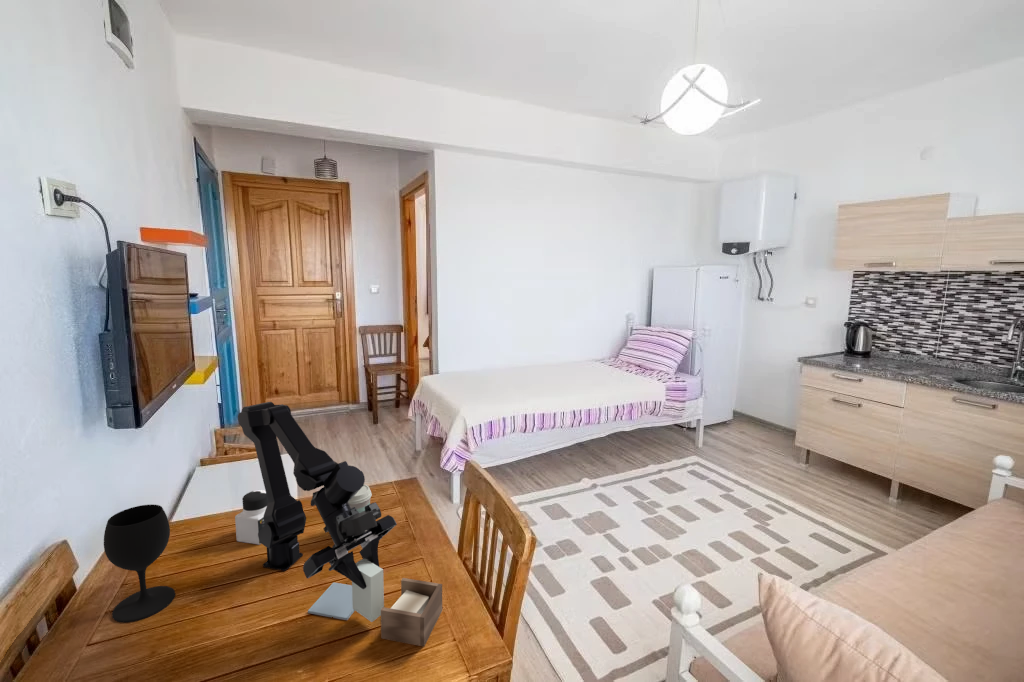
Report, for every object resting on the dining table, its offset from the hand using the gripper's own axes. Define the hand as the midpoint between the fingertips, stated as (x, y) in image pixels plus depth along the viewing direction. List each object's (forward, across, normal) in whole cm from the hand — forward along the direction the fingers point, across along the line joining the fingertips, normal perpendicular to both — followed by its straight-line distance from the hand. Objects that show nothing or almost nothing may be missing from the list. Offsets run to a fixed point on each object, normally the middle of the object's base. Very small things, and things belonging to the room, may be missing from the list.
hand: (372, 583), depth 88 cm
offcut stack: (+10, +5, +2) cm, 12 cm away
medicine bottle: (-29, +2, +42) cm, 51 cm away
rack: (+10, +5, +2) cm, 12 cm away
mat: (-1, 0, +14) cm, 14 cm away
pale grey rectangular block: (+4, 0, +6) cm, 7 cm away
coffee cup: (-15, +19, +29) cm, 38 cm away
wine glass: (-24, -25, +37) cm, 50 cm away
